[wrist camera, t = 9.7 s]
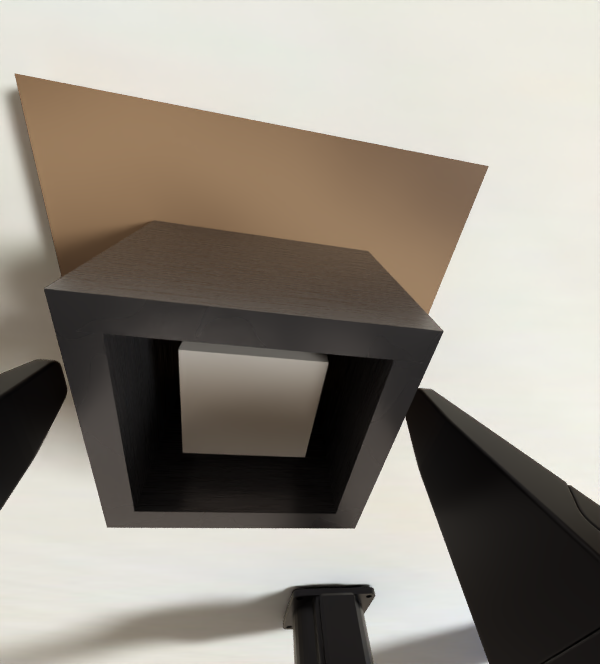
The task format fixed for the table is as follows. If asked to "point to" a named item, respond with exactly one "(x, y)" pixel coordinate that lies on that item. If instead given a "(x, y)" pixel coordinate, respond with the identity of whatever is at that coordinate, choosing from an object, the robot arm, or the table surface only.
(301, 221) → the post block
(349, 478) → the grey cube shelf
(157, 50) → the table surface
